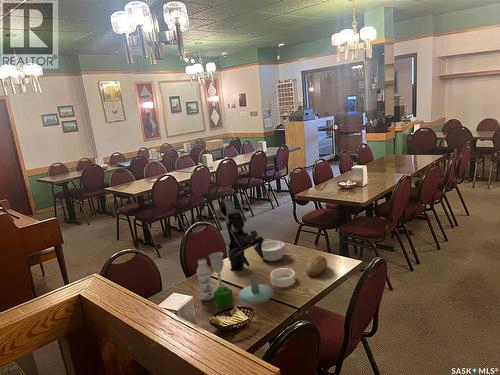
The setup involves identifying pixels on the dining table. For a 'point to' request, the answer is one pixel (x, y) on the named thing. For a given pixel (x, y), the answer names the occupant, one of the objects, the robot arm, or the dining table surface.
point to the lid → (255, 291)
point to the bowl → (282, 277)
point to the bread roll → (316, 265)
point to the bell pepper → (223, 297)
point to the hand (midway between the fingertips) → (256, 261)
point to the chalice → (217, 264)
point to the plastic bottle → (205, 280)
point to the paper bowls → (273, 250)
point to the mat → (255, 302)
